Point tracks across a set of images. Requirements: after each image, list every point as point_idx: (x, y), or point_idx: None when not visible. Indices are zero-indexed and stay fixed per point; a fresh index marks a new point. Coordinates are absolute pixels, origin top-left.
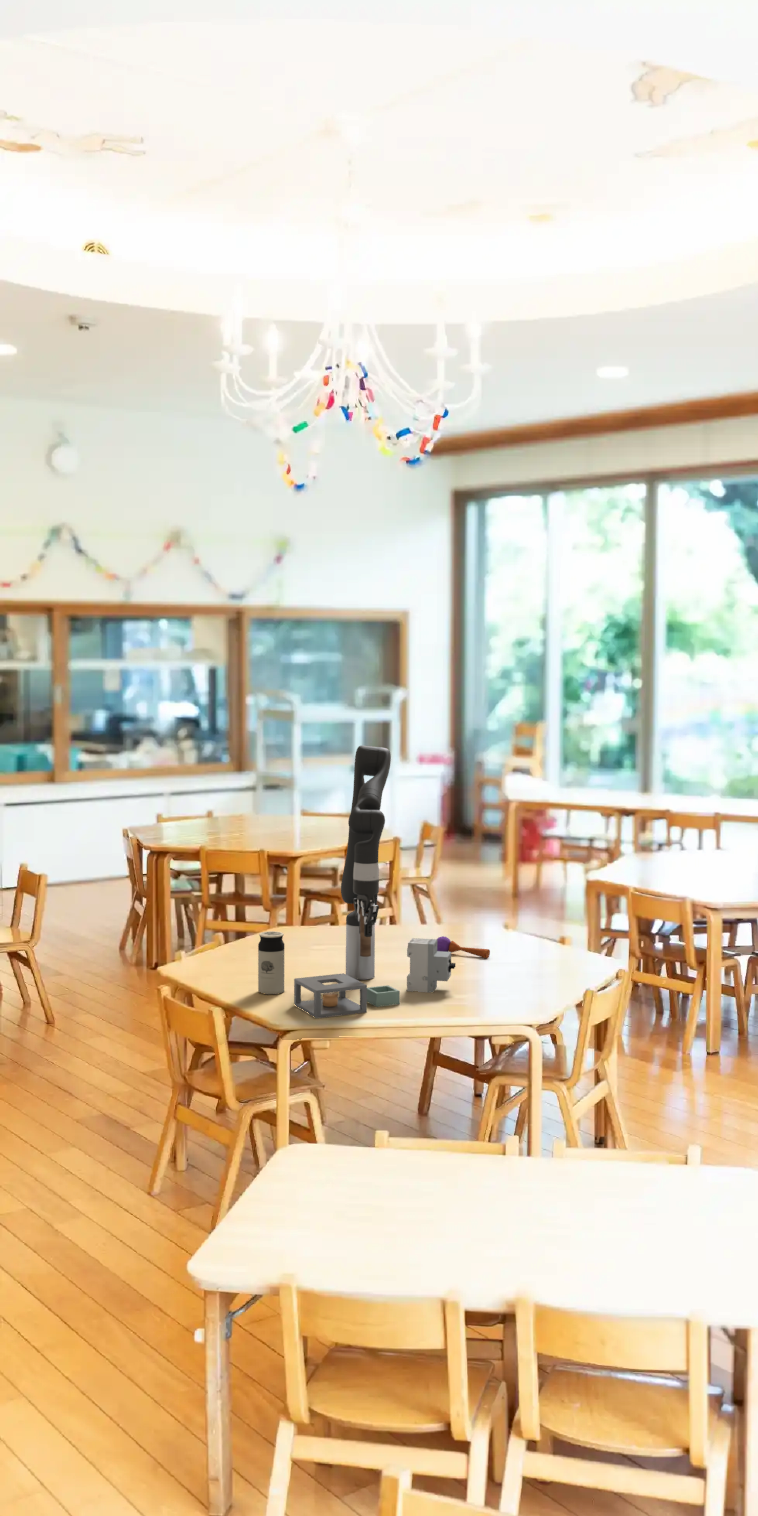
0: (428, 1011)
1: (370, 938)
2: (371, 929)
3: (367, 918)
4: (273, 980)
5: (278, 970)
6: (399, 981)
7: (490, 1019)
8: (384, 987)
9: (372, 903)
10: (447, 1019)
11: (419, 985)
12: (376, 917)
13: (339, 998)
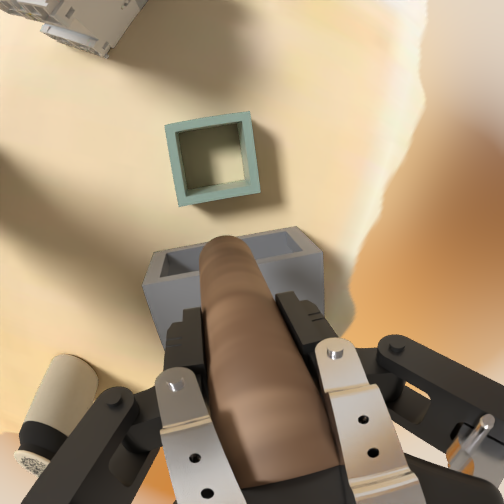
0: (335, 75)
1: (262, 282)
2: (327, 323)
3: (390, 415)
4: (91, 397)
5: (81, 404)
6: (15, 68)
7: (417, 8)
8: (176, 140)
9: (495, 483)
10: (404, 74)
11: (122, 22)
12: (447, 361)
13: (173, 270)
